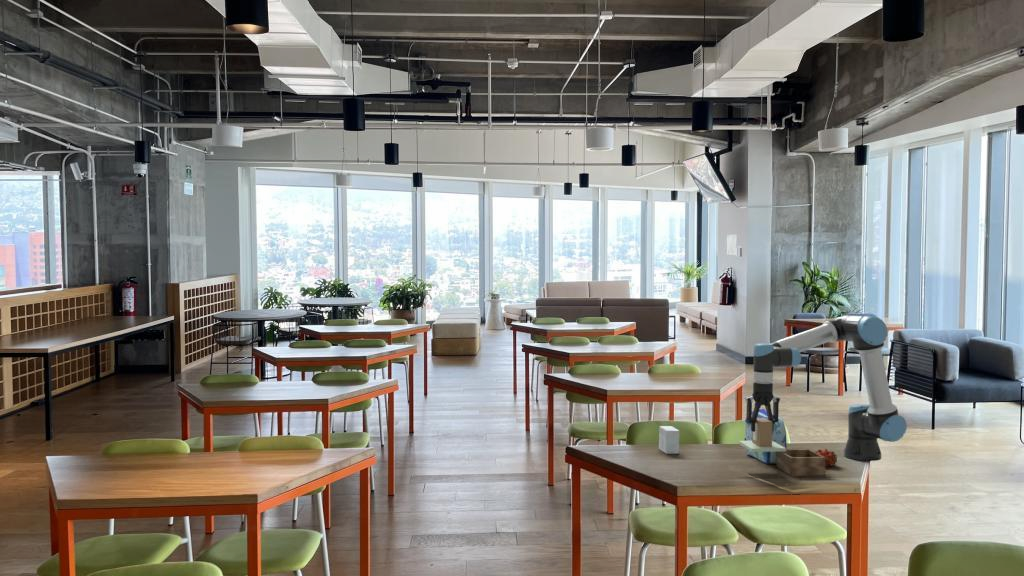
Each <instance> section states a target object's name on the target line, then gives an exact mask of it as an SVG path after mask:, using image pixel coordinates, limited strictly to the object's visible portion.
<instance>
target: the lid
mask: <svg viewBox="0 0 1024 576" xmlns="http://www.w3.org/2000/svg"><path fill="white" fill-rule="evenodd" d="M756 424H758V426H757V440H754V439H753V432H752V441H745V440H738V445H740V446H742V447H744V449H746V450H747V449H748V450H750V451H751V452H776V451H786V448H785V447H783V446H781V445H779V444H777V443H776V442H774V441H772V421H770V420H768V419H766V418H757V420H756Z"/></svg>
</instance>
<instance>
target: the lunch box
mask: <svg viewBox="0 0 1024 576" xmlns="http://www.w3.org/2000/svg"><path fill="white" fill-rule="evenodd" d="M753 411H754V410H753ZM753 411H752V414H753ZM772 415H773V412H772ZM757 418H766V419H768V416H767V412H766V408H760V409H759V413H758V416H757ZM744 422H745V423H744V424H745V425H744V426H745V438H744V441H752V431H751V423H750V422H748V421H746V418H745V419H744ZM786 430H787V429H786V425H785V422H784V419H782V417H780V416H779V415H778V422H775V424H774V428H773V432H772V441H774V442H776V443H777V444H779V445H781V446H783V447H785V448H786V449H787V446H788V445H787V431H786ZM746 452H747V455H748V456H750V457H752V458H754V459H756V460H759V461H760V462H761V463H763V464H765V465H769V464H770V465H774V464H775V465H776V458H777V451H776V452H751V451H750V450H748V449H746Z"/></svg>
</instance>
